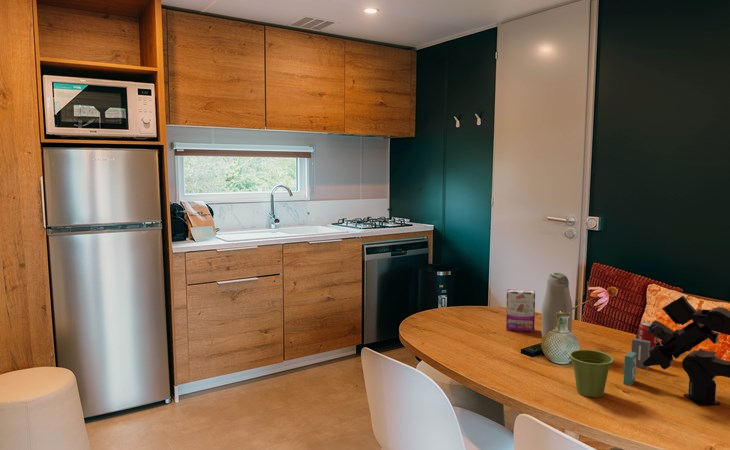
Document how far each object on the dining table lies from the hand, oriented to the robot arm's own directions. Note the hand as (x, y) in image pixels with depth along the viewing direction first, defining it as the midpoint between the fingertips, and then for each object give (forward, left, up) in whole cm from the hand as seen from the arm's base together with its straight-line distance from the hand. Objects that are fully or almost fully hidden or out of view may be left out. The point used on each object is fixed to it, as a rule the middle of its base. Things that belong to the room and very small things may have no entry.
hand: (643, 364), depth 158 cm
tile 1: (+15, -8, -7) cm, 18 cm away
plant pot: (-3, +19, -7) cm, 20 cm away
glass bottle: (+35, +12, -7) cm, 37 cm away
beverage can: (+23, -16, -7) cm, 29 cm away
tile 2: (+3, +3, -7) cm, 8 cm away
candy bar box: (+57, +17, -7) cm, 60 cm away
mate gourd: (+33, -22, -7) cm, 40 cm away
